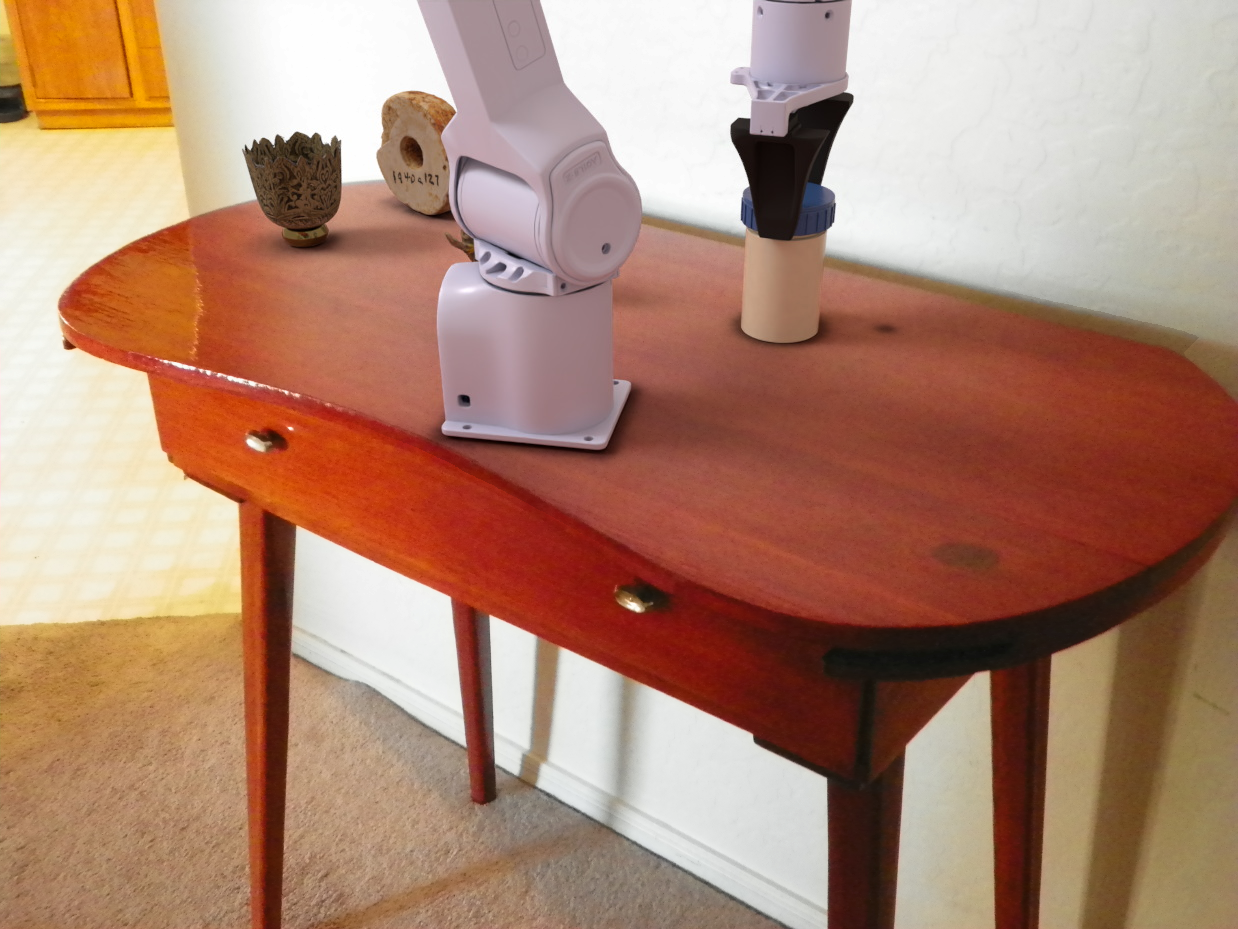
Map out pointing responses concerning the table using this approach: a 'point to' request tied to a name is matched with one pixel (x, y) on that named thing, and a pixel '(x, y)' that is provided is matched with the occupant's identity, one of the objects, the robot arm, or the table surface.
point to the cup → (297, 184)
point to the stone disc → (416, 150)
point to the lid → (813, 213)
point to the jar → (782, 287)
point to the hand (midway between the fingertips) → (787, 221)
